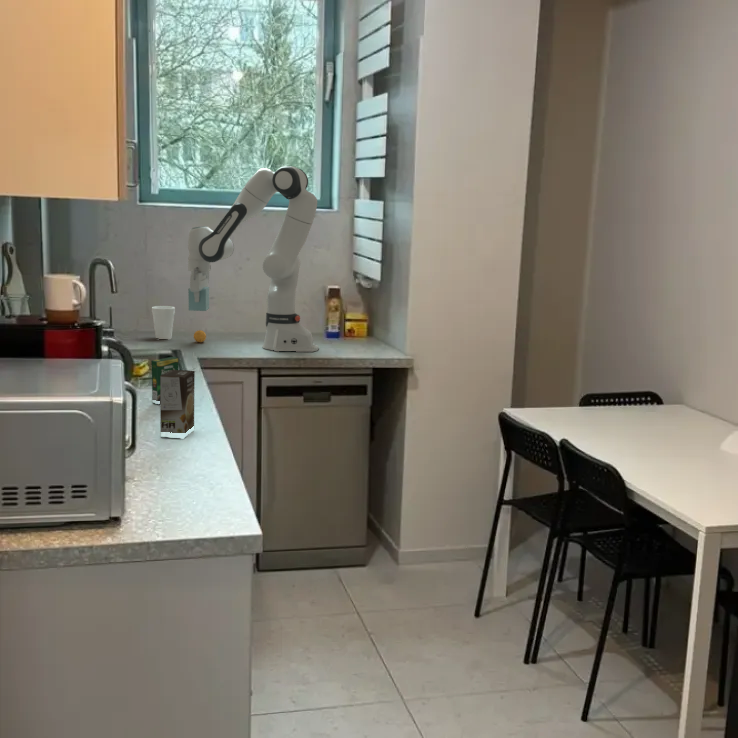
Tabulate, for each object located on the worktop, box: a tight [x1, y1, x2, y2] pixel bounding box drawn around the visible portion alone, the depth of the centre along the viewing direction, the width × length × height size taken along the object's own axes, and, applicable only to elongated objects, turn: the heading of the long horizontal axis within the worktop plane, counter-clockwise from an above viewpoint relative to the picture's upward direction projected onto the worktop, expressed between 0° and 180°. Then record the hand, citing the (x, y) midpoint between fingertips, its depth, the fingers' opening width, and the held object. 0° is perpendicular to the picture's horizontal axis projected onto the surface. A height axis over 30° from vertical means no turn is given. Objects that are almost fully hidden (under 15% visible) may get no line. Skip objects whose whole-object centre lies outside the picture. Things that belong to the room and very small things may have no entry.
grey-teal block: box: [188, 286, 210, 312], centre depth 365 cm, size 7×7×9 cm
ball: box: [193, 329, 207, 343], centre depth 368 cm, size 5×5×5 cm
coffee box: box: [159, 369, 196, 433], centre depth 228 cm, size 9×6×16 cm
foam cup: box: [151, 305, 176, 340], centre depth 373 cm, size 10×9×13 cm
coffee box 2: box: [150, 356, 179, 401], centre depth 262 cm, size 8×3×13 cm, turn 139°
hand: (199, 300), depth 365 cm, fingers closed on grey-teal block, 7 cm apart
